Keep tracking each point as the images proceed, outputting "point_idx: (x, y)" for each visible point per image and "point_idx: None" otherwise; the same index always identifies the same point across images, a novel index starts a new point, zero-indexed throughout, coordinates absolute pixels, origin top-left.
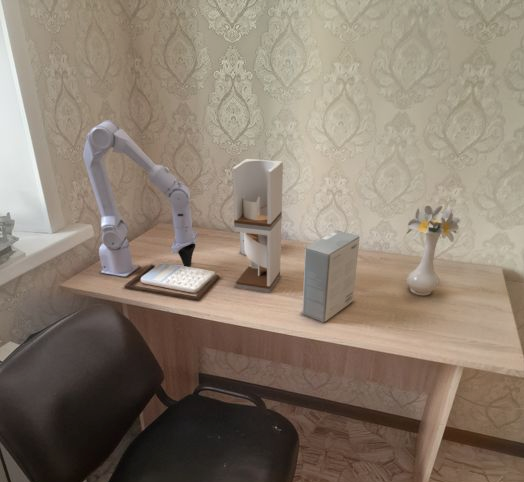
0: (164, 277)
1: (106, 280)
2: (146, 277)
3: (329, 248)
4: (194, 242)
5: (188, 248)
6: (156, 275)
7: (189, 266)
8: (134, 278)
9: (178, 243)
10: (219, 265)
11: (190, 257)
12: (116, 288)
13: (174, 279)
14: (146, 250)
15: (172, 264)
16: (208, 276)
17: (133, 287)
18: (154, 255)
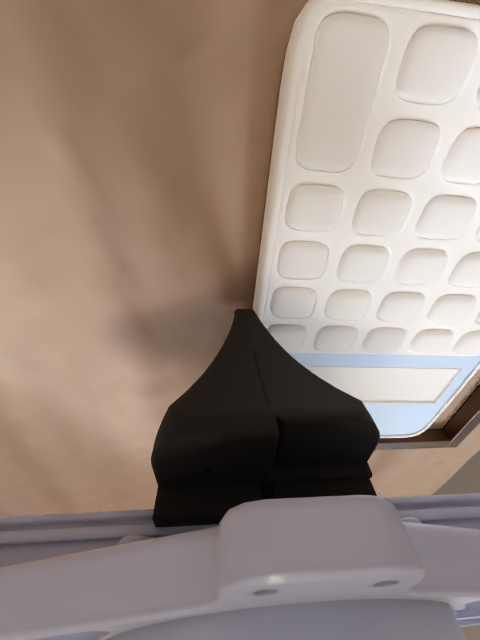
0: (411, 369)
1: (379, 483)
2: (408, 424)
3: None
4: (406, 538)
5: (330, 447)
6: (389, 404)
7: (253, 311)
8: (397, 446)
9: (472, 618)
10: (37, 85)
11: (260, 347)
12: (442, 450)
13: (468, 314)
14: (129, 496)
15: None
16: (455, 23)
17: (478, 422)
18: (152, 469)
